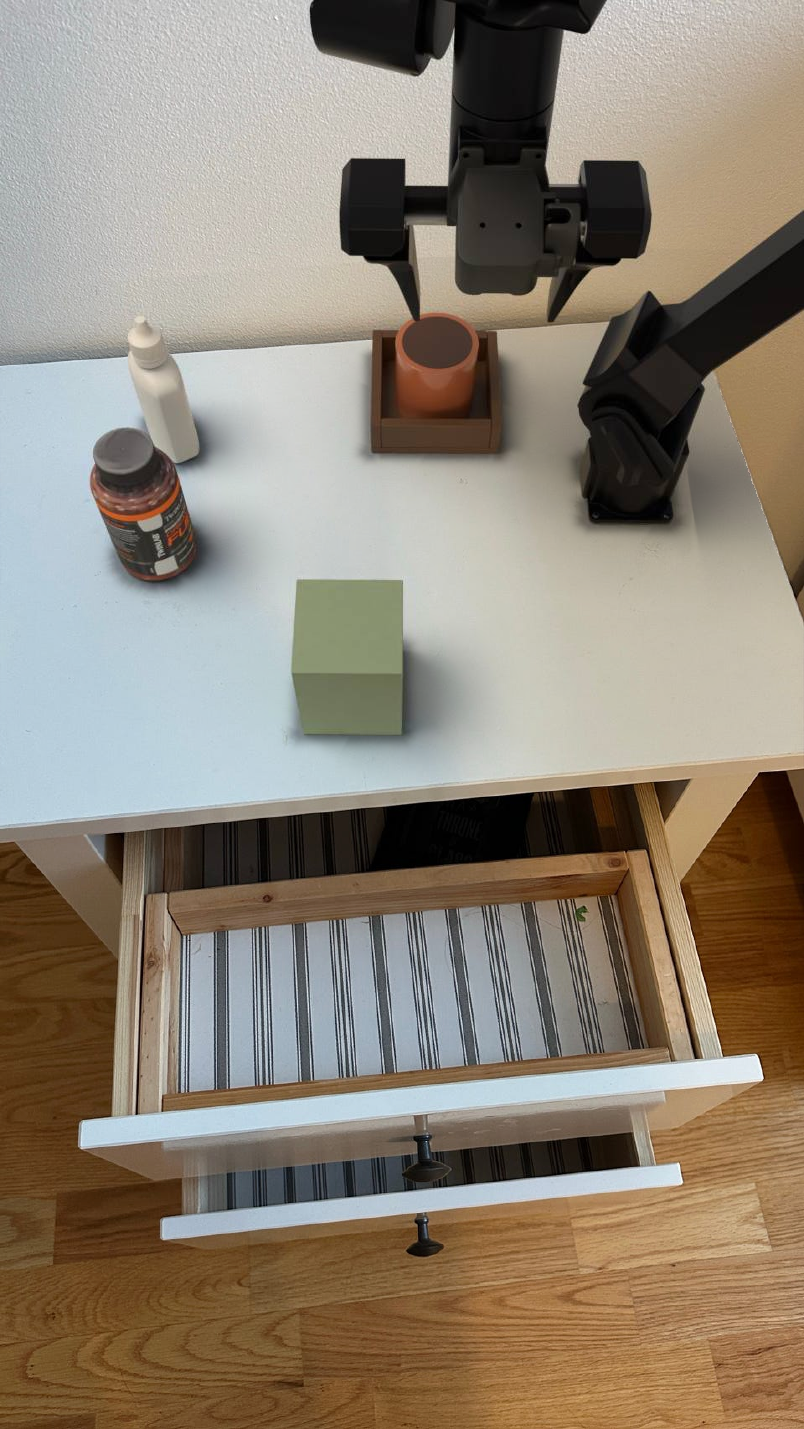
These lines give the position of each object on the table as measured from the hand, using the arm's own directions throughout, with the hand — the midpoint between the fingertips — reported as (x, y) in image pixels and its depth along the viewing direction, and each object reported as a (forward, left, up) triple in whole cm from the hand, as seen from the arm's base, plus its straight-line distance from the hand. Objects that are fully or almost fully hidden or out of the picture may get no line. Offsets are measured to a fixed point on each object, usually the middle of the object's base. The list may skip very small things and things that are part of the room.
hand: (483, 317), depth 68 cm
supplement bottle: (+24, +11, -13) cm, 29 cm away
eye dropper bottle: (+24, 0, -13) cm, 27 cm away
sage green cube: (+9, +23, -12) cm, 27 cm away
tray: (+3, -4, -12) cm, 13 cm away
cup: (+3, -4, -12) cm, 13 cm away
